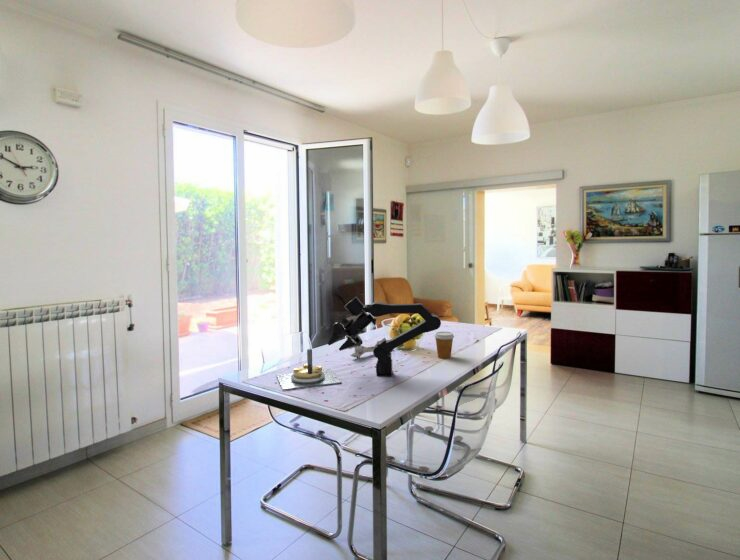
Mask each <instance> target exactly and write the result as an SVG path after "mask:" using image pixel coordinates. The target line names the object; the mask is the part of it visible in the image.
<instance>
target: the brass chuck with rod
mask: <svg viewBox="0 0 740 560" xmlns="http://www.w3.org/2000/svg"><path fill="white" fill-rule="evenodd" d="M306 359H307V362H306V363H303V364H302V366H300V367H296V368H293V372H292V373H294V377H295V378H298V379H313V378H317V377H320V376H321V375H322V370H323V367H322V365H313V349H312V348H307V349H306Z"/></svg>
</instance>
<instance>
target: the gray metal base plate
mask: <svg viewBox="0 0 740 560" xmlns="http://www.w3.org/2000/svg"><path fill="white" fill-rule="evenodd" d="M276 378H278V379H277V380H278V382H279V386H280V385H281V386H280V388H281V390H282V391H283V390H285V391H291V389H293V390H298V389H297V388H301V389H307V388H306V387H309V388H314V387H315V386H317V387H325V386H330V385H331V386H332V385H339V384H342V383H343V382H342V380H341V379H340V378H339V377H338V376H337V375H336V374H335V373H334V372H333V371H332V369H331V368H325V369H322V375H321V376H320V377H317V378H313V379H298V378H295V377H294V372H290V373H289V372H288V373H282V374H281V373H280V374H276ZM315 388H316V387H315Z"/></svg>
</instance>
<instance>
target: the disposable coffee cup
mask: <svg viewBox="0 0 740 560" xmlns="http://www.w3.org/2000/svg"><path fill="white" fill-rule="evenodd" d="M454 337H455V335H454V333H453V332H451V331H437V332H435V335H434V339H435V344H436V345H435V346H436V351H437V357H438V358H439V359H450V358H451V357H452V349H453V342H454V341H453V340H454Z"/></svg>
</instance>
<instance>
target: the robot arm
mask: <svg viewBox="0 0 740 560" xmlns="http://www.w3.org/2000/svg"><path fill="white" fill-rule="evenodd" d="M344 308H345V309H346V311H348V313H349V314H350V315H351V316H352V317H353V316H354V317H356V318H355V319H354V318H353V319H350V320H349V319H347V318H348V317H347V316H346V315H345V314H344V313H342V314H341V315H339V316H338V318H337V319H338V321H337V322H334V324H332V330H333V331H332V332H333V333H332V335H331V337H330V339H329V341H328V342H327V345H328V346H331V345H334V344H335V343H337V342H339V341H341V340H342V339H343V338H344V337H347V338H346V340H345V341H344V343H342V345H340V347H339V348H338V350H339V351H344V350H347V349H348V348H352V347H357V346H360V345H361V346H363V340H362V338H361V336H360V333H362V334H363V333H364V332H365V331H364V330H365V329H366V328H367V327H368V326H369V325H370V324H371V323H372V324H373V325H374V326H376V324H377V319H378V318H376V317H382V316H386V315H391V314H392V315H393V314H418V315H419V316H420V317H421V318H422V319H423V320H422V321H420V323H419V324H416V325H415V326H413V327H411V328H409V329H407V330H406V331H404V332H402V333H400V334H398V335H396V336H394V337H393V338H391V339H386V337H384V338H382V339H381V340H377V341H376V343H375V344H374V345H373V346H374V350H373V352H372V353H373V356H374V357H375V358H376V359H377V361H376V364H375V373H376V377H377V376H379V377H392V375H393V374H394V370H393V358H392V351H394V350H395V349H396V348H398V347H400V346H401V345H404V344H405V343H407V342H409V341H411V340H413V339H414V338H417V337H418V336H420V335H422V334H425V333H429V332H433V331H436V330H438V329H440V327H441V324H442V322H441V321H442V320H441V319H440V318H439V316H438V315H437V314H435V313H432V312H431V311H429V310H428V309H427V308H426V307H425V306H424V304H422V303H421V302H420V303H419V302H417V303H392V304H391V303H387V302H382V301H374V302H372V303H371V304H370V303H369V304H363V303H362V301H360V299H359V298H358V297H357V296H355V297H354V298H353V299H351V300H350V301H348V303H346V304H345V305H344ZM352 349H353V348H352Z"/></svg>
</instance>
